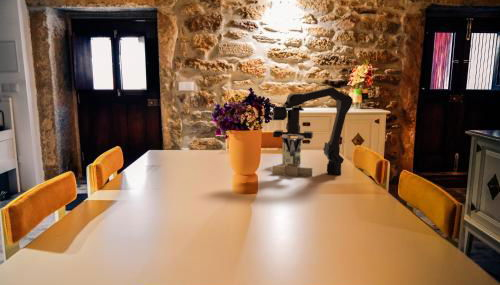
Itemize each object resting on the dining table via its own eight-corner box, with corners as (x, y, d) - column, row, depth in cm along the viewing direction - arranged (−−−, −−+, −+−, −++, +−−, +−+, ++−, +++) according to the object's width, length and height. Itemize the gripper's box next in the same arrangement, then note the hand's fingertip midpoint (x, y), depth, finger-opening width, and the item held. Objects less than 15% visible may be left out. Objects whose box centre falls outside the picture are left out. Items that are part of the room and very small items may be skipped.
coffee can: (299, 162, 208) (300, 138, 205) (301, 167, 197) (302, 141, 195) (281, 162, 208) (281, 138, 205) (282, 167, 198) (282, 141, 195)
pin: (296, 155, 181) (296, 139, 180) (295, 156, 178) (295, 140, 177) (290, 155, 182) (290, 139, 181) (289, 156, 179) (289, 140, 178)
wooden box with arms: (312, 174, 183) (313, 164, 182) (311, 178, 176) (311, 167, 176) (274, 171, 188) (274, 162, 187) (271, 175, 182) (271, 165, 181)
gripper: (314, 118, 182) (313, 149, 185) (277, 117, 187) (277, 147, 190) (312, 121, 172) (311, 154, 175) (273, 120, 177) (272, 151, 180)
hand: (292, 151), depth 180 cm, fingers closed on pin, 3 cm apart
